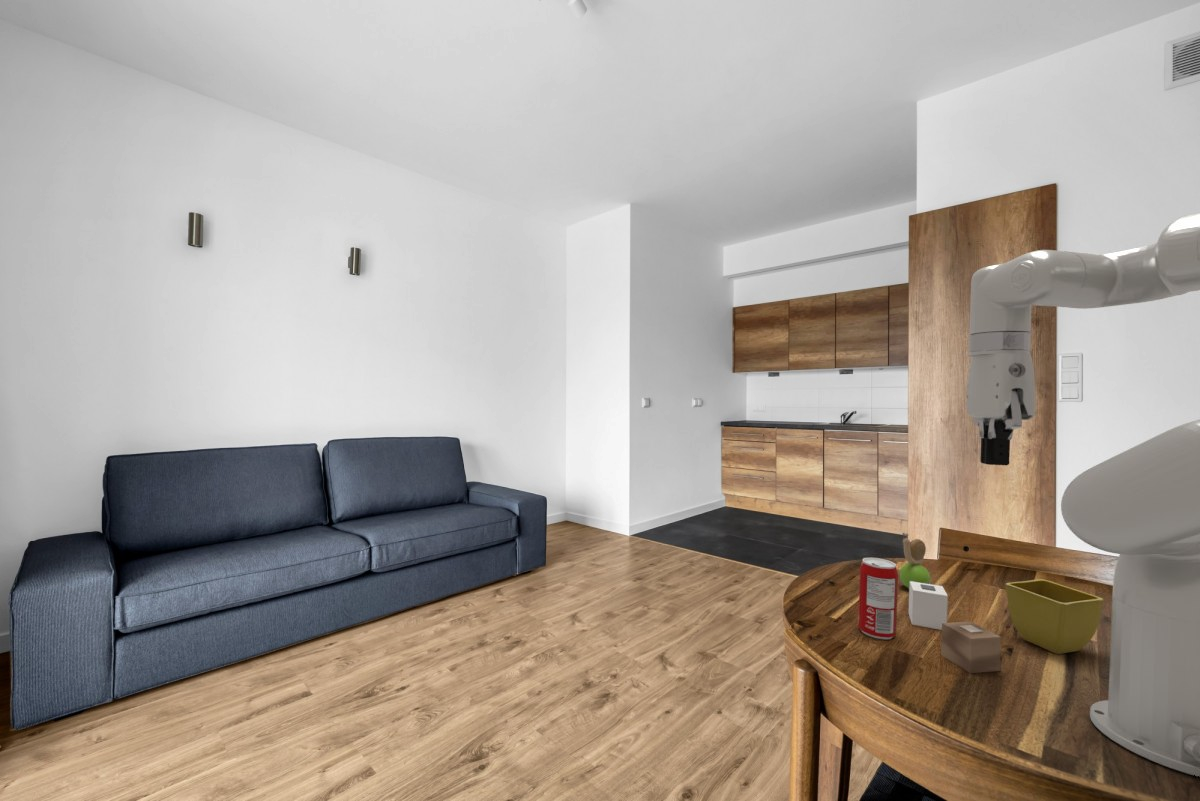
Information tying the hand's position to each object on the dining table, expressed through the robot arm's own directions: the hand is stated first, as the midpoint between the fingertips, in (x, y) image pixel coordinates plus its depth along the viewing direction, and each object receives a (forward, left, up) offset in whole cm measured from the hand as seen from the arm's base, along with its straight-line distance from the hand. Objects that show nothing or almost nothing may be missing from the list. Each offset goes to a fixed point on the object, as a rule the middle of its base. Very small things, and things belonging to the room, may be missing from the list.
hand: (994, 464), depth 79 cm
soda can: (+2, +15, -29) cm, 33 cm away
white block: (+9, +5, -29) cm, 31 cm away
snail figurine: (+25, +1, -29) cm, 39 cm away
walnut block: (-5, +5, -29) cm, 30 cm away
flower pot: (+4, -11, -29) cm, 32 cm away
